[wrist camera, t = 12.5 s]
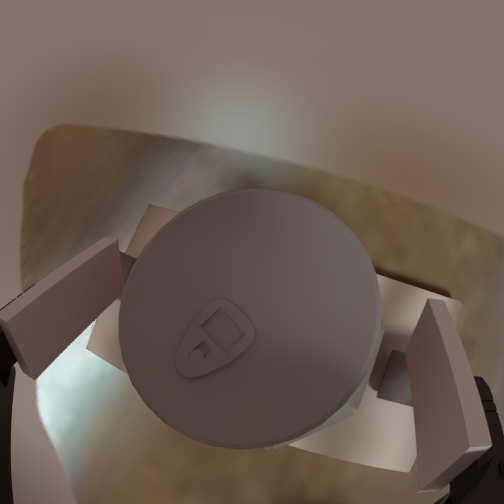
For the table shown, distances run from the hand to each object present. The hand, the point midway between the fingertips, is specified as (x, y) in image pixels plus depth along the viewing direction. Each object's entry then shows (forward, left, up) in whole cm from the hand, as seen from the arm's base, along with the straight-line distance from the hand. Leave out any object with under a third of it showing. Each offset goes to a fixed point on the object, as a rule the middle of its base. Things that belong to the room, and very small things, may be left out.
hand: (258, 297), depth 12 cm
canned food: (-1, +1, -7) cm, 8 cm away
